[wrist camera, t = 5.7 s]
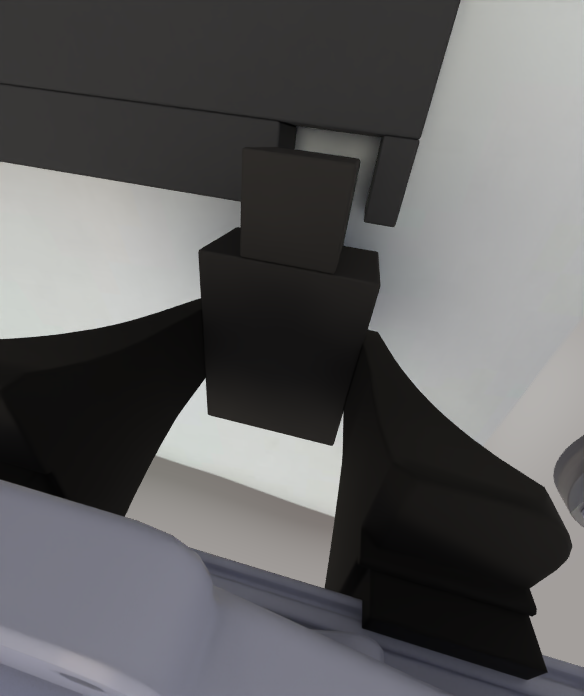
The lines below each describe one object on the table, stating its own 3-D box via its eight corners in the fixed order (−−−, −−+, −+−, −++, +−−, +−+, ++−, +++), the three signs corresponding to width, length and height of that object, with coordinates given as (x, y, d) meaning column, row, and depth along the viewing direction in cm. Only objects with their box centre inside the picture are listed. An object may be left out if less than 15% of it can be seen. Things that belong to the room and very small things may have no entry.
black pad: (402, 164, 9) (414, 172, 6) (339, 394, 14) (333, 446, 11) (237, 141, 9) (190, 139, 7) (234, 370, 14) (207, 415, 12)
